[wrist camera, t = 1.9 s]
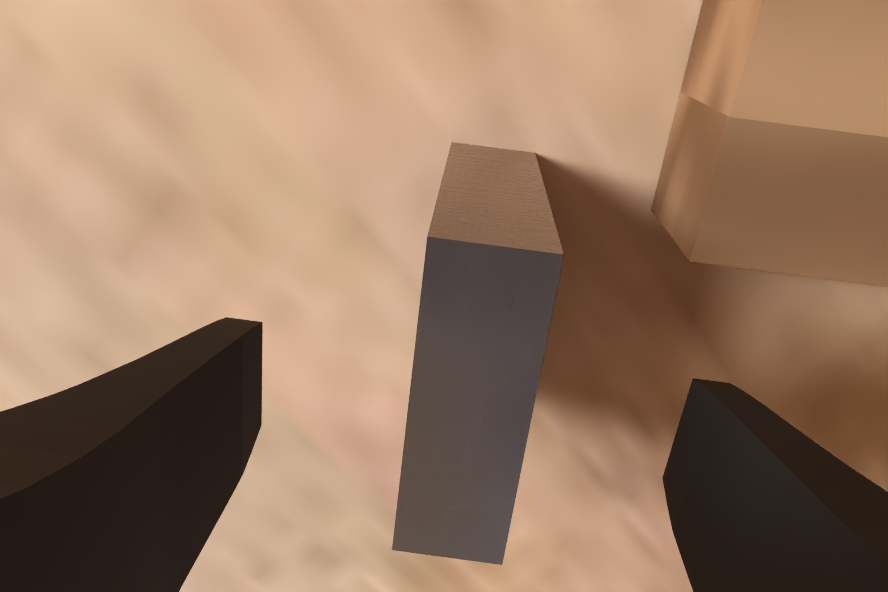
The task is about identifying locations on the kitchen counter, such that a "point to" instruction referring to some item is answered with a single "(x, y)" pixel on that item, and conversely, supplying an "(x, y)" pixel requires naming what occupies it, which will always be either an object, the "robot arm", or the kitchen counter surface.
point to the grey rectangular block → (477, 353)
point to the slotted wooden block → (783, 140)
